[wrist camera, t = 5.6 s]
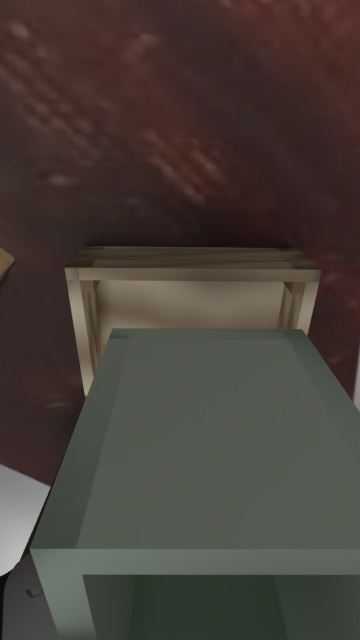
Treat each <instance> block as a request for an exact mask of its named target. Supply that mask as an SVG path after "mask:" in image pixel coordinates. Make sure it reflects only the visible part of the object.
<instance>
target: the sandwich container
mask: <svg viewBox="0 0 360 640" xmlns="http://www.w3.org/2000/svg"><path fill="white" fill-rule="evenodd" d="M13 262H14V258H13V257H12V256H11V255H10V254H8V253H7V252H6V251H4V250H3V249H2V248H0V282H1V281H2V279H3V278H4V276H5V274H6V273H7V271H8V270H9V268H10V266H11V265H12V263H13Z"/></svg>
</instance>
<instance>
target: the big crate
mask: <svg viewBox="0 0 360 640" xmlns="http://www.w3.org/2000/svg"><path fill="white" fill-rule="evenodd" d="M321 272H322V269H320V268H319V267H318V266H317V265H316V264H315V263H314V262H313V261H312V260H310V259H309V258H308V257H307V256H306V255H305V254H304V253H303V252H301V251H300V250H299V249H298V248H221V247H114V246H83V247H82V248H81V249H80V251H79V252H78V253H77V254H76V255H75V256H74V257H73V259H72V260H71V261H70V262H69V263H68V264H67V265H66V267H65V273H66V279H67V286H68V292H69V298H70V305H71V311H72V317H73V323H74V330H75V336H76V342H77V349H78V355H79V361H80V368H81V374H82V380H83V386H84V393H85V399H86V397H87V395H88V392H89V389H90V387H91V384H92V381H93V379H94V376H95V373H96V371H97V368H98V365H99V363H100V360H101V357H102V355H103V352H104V349H105V347H106V344H107V341H108V339H109V336H110V333H111V331H112V328H169V329H303V331H304V332H305V334H306V335H307V334H308V330H309V325H310V321H311V316H312V312H313V307H314V303H315V298H316V294H317V289H318V285H319V281H320V276H321Z"/></svg>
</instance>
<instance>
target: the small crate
mask: <svg viewBox="0 0 360 640" xmlns="http://www.w3.org/2000/svg"><path fill="white" fill-rule="evenodd" d="M30 552H31V555H32V558H33V561H34V564H35V567H36V570H37V573H38V576H39V579H40V582H41V585H42V588H43V591H44V593H45V596H46V599H47V602H48V605H49V608H50V611H51V614H52V617H53V620H54V623H55V626H56V629H57V632H58V635H59V638H60V640H360V412H359V411H358V409H357V408H356V406H355V405H354V403H353V402H352V400H351V399H350V397H349V396H348V395H347V393H346V392H345V390H344V389H343V387H342V386H341V384H340V383H339V381H338V380H337V379H336V377H335V376H334V374H333V373H332V371H331V370H330V368H329V367H328V366H327V364H326V363H325V361H324V360H323V358H322V357H321V355H320V354H319V353H318V351H317V350H316V348H315V347H314V345H313V344H312V342H311V341H310V340H309V338H308V337H307V335H306V334H305V332H304V331H303V329H169V328H112V331H111V333H110V336H109V339H108V341H107V344H106V347H105V349H104V352H103V355H102V357H101V360H100V363H99V365H98V368H97V371H96V373H95V376H94V379H93V381H92V384H91V387H90V389H89V392H88V395H87V397H86V400H85V403H84V405H83V408H82V410H81V413H80V416H79V418H78V421H77V424H76V426H75V429H74V432H73V434H72V437H71V440H70V442H69V445H68V448H67V450H66V453H65V456H64V458H63V461H62V464H61V466H60V469H59V472H58V474H57V477H56V480H55V482H54V485H53V488H52V490H51V493H50V496H49V498H48V501H47V504H46V506H45V509H44V512H43V514H42V517H41V520H40V522H39V525H38V528H37V530H36V533H35V536H34V538H33V541H32V544H31V546H30Z"/></svg>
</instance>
